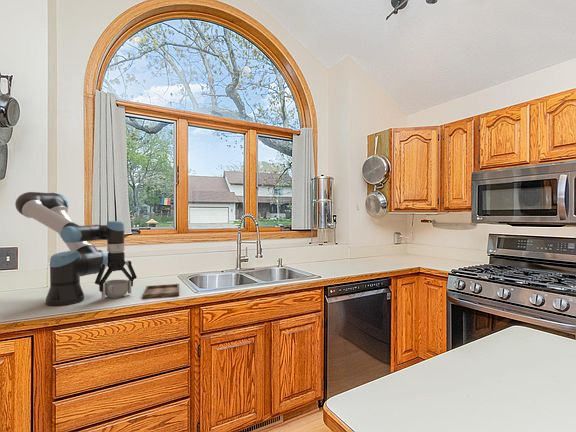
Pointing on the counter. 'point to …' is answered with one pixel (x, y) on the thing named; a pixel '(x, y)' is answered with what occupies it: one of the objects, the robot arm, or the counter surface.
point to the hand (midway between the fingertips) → (116, 295)
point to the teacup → (116, 288)
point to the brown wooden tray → (161, 291)
